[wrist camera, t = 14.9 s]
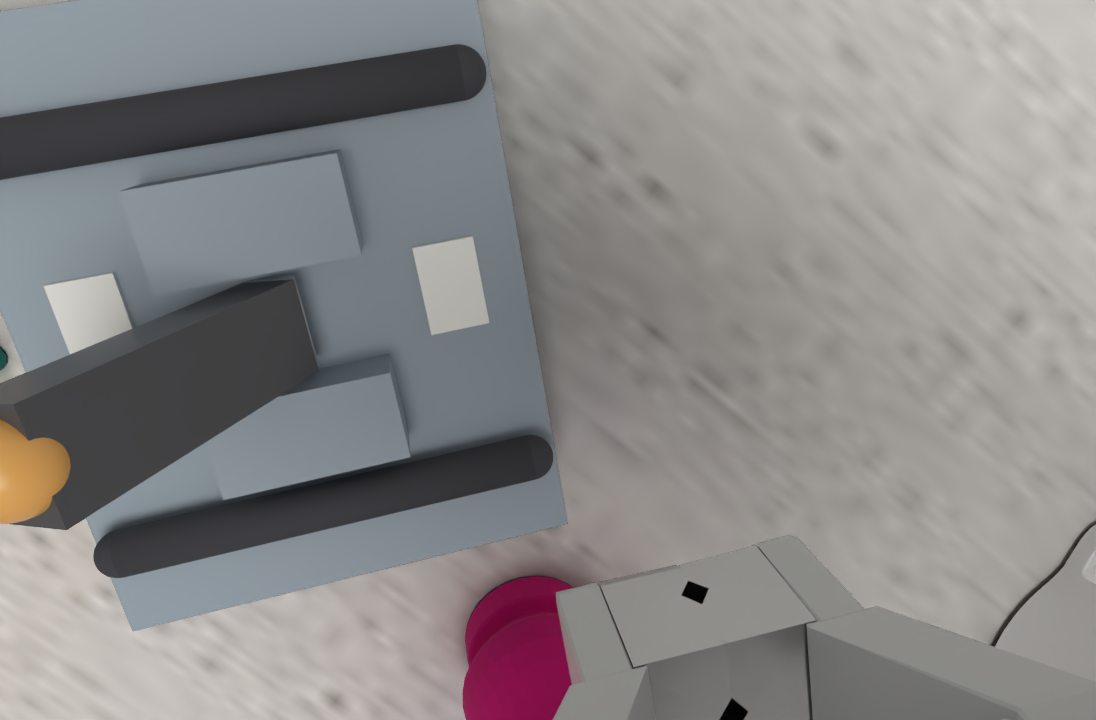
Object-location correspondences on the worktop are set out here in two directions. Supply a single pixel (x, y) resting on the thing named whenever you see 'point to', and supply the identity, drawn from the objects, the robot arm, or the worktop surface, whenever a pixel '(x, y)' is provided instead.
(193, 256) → the box
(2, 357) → the digital multimeter
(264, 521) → the dark parallel rails
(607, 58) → the worktop surface
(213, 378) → the breaker lever
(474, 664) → the pepper mill
